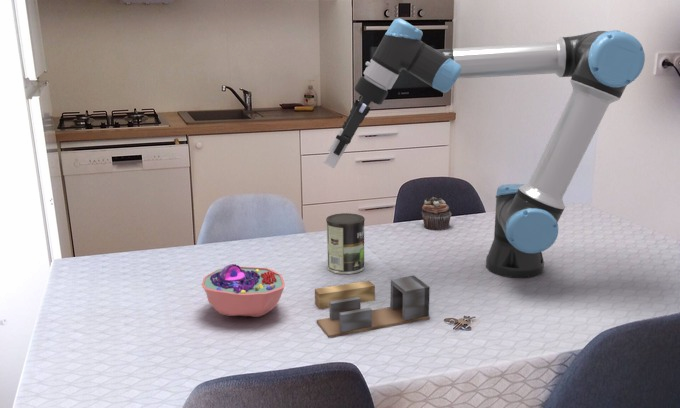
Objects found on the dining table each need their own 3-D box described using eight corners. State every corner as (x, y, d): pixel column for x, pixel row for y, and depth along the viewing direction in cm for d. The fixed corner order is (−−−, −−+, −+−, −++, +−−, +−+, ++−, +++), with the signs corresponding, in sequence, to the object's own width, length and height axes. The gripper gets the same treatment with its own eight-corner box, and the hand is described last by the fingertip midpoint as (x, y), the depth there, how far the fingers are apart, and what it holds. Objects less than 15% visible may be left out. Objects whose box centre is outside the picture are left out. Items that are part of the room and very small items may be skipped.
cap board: (412, 305, 150) (413, 275, 148) (429, 318, 143) (430, 287, 141) (316, 322, 142) (315, 290, 140) (328, 337, 135) (328, 304, 133)
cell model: (256, 338, 135) (253, 288, 132) (187, 317, 146) (184, 270, 143) (302, 309, 149) (301, 263, 146) (236, 291, 160) (234, 248, 157)
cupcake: (443, 233, 203) (444, 202, 200) (416, 228, 208) (416, 198, 206) (455, 225, 211) (456, 196, 208) (429, 220, 216) (429, 192, 213)
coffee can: (367, 262, 179) (367, 213, 175) (361, 275, 169) (361, 224, 165) (331, 259, 181) (330, 212, 177) (323, 273, 171) (322, 222, 167)
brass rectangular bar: (369, 295, 157) (369, 280, 156) (374, 301, 154) (375, 285, 153) (315, 304, 152) (314, 288, 151) (319, 310, 149) (319, 294, 148)
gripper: (363, 70, 162) (322, 141, 168) (360, 80, 138) (312, 162, 144) (388, 85, 162) (346, 155, 168) (390, 97, 139) (341, 179, 144)
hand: (331, 159), depth 156 cm, fingers open, 13 cm apart
